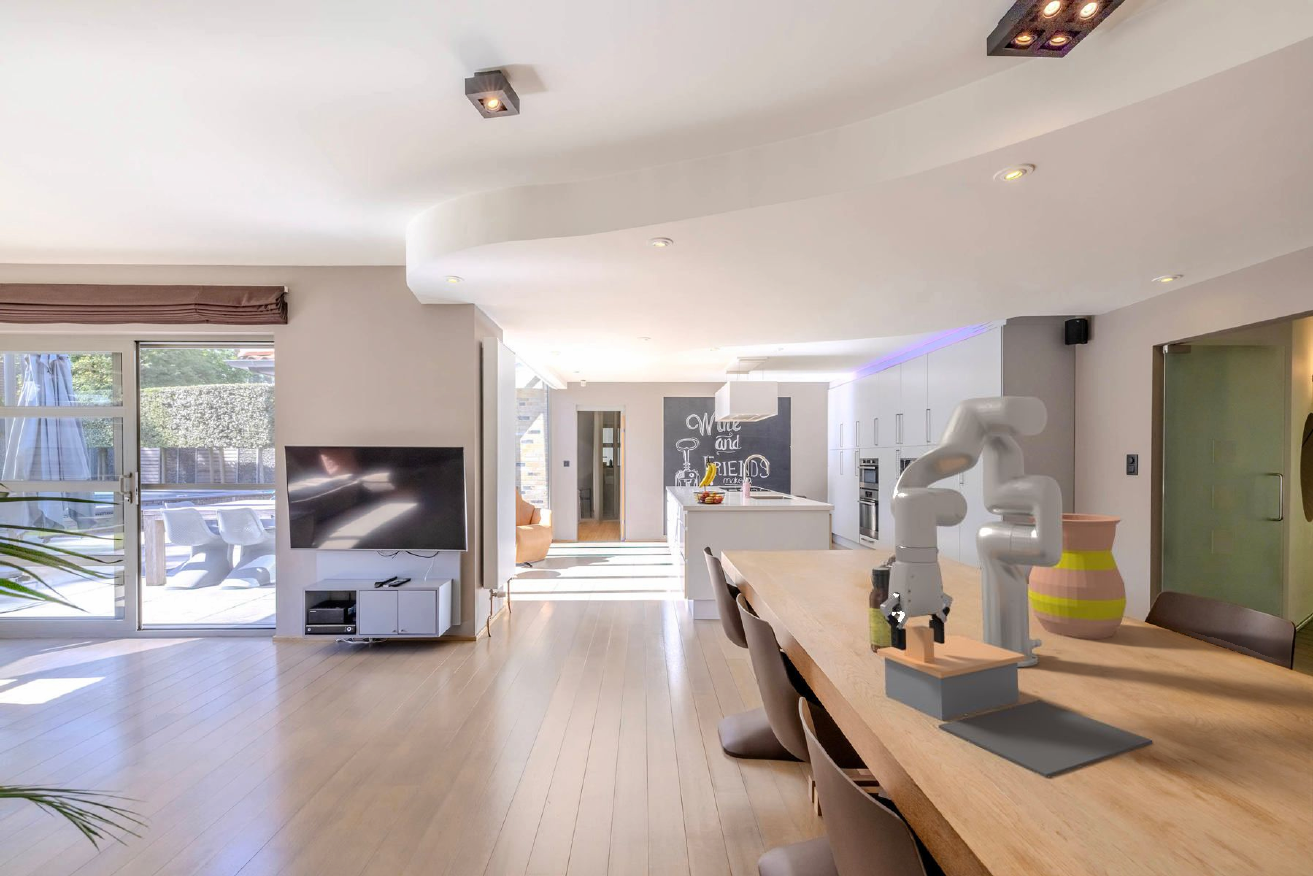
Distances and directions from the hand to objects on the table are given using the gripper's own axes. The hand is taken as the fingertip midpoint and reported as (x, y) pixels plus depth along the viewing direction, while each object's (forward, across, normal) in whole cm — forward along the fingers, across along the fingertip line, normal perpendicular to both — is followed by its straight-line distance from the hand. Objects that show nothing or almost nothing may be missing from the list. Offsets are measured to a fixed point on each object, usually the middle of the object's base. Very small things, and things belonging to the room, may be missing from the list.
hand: (918, 645), depth 127 cm
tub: (+11, -8, 0) cm, 14 cm away
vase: (+11, -76, -20) cm, 80 cm away
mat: (+12, -8, +19) cm, 24 cm away
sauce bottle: (+11, -19, -30) cm, 38 cm away
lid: (+5, -8, 0) cm, 10 cm away
